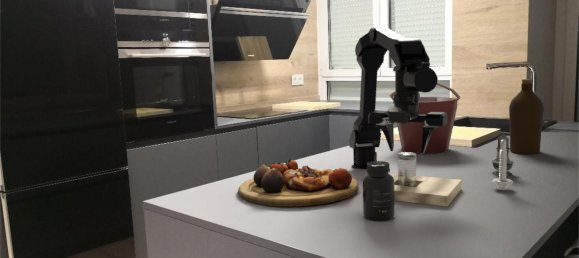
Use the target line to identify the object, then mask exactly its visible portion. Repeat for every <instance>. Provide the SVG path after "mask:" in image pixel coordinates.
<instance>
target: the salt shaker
mask: <svg viewBox="0 0 579 258" xmlns="http://www.w3.org/2000/svg"><path fill="white" fill-rule="evenodd" d="M503 139H504V140H506V149H507V150H506V151H507V153H506V154H507V155H506V156H507V157H506V158H507V159H506V161H507V162H506V163H507V164H506V165H507V166H506V167H507V168H506V170H507V171H506V172H507V173H506V174H507V175H506V177H510V176H513V173H512V172H511V171H510V170H511V169H513V164H514V163H515V162H514V160H511V159H510V157H509V156H510V155H509V154H510V137H508V136H507V135H505V133H504V132H502V134H501V136H498V137H497V147H496V148H495V149H496V150H497V151H496V158H495V159H493V160H491V164H492V167H493V168H494V169H495V171H492V173H491V174H492V175H494V176H497V175H498V177H499V171H500V169H499V168H500V167H499V166H500V165H499V164H500V160H499V159H500V158H499V157H500V148H501V140H503Z"/></svg>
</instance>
